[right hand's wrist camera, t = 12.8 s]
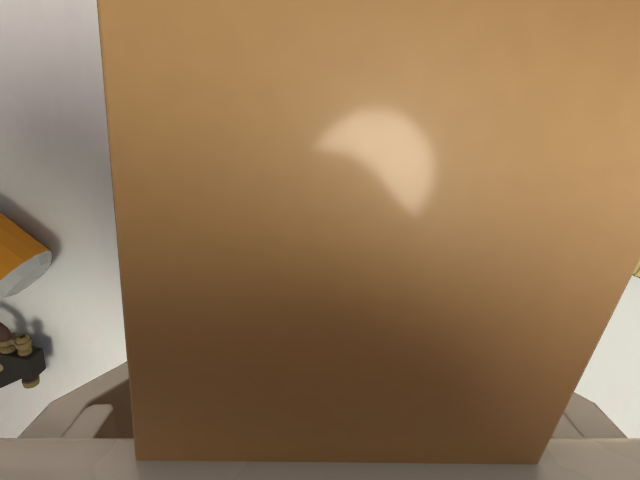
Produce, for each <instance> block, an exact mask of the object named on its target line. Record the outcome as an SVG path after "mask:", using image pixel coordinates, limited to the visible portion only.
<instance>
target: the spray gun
mask: <svg viewBox="0 0 640 480" xmlns="http://www.w3.org/2000/svg"><path fill="white" fill-rule="evenodd" d="M51 258H52V255H51V251H50V250H48V249H47V248H46V247H45V246H43V245H42V244H41V243H39V242H38V241H37V240H36V239H34V238H33V237H32V236H30V235H29V234H28V233H26V232H25V231H24V230H23V229H21V228H20V227H19V226H17V225H16V224H15V223H14V222H12V221H11V220H10V219H8V218H7V217H6V216H4V215H3V214H2V213H1V212H0V298H2V297H9V296H12V295H14V294H17V293H19V292H20V291H22V290H23V289H25V288H26V287H27V286H29V285H30V284H31V283H33V282H34V281H35V280H36V279H38V278H39V277H40V276H41V275H42V274H43V273H44V272H45V271H46V270H47V269H48V268H49V267H50V265H51ZM31 345H32V340H31V338H30V337H29V335H28V334H21V335H19V336H18V337H17V338H15V335H14V333H10V331H9V329H8V328H7V327H6V326H5V325H3V324H2V323H1V322H0V388H2V387H4V386H6V385H8V384H11V383H13V382H15V381H17V380H19V379H22V384H23V386H24V388H33V387H35V386H37V385H38V384H39V374H40V373H41V372H43V371H44V370H45V369H46V367H45V361H44V355H43V350H42V348H36V347H31Z"/></svg>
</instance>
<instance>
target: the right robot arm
mask: <svg viewBox="0 0 640 480" xmlns="http://www.w3.org/2000/svg"><path fill="white" fill-rule="evenodd" d="M0 480H640V438H627V437H626V436H625V435H624V434H623V433H622V431H621V430H620V429H619V428H618V427H617V426H616V425H615V424H614V423H613V422H612V421H611V420H610V419H609V418H608V417H607V416H606V415H605V414H604V413H603V411H602V410H601V409H600V408H599V407H598V406H597V405H596V404H595V403H593V402H591V401H589V400H588V399H586V398H584V397H582V396H580V395H578V394H576V393H574V392H573V394H572V396H571V398H570V400H569V402H568V404H567V406H566V408H565V410H564V413H563V415H562V417H561V419H560V421H559V423H558V425H557V427H556V429H555V431H554V433H553V435H552V437H551V439H550V441H549V443H548V445H547V447H546V449H545V451H544V453H543V455H542V457H541V459H540V461H539V463H538V464H536V465H531V464H439V463H348V462H256V461H165V460H137V459H136V458H135V446H134V434H133V422H132V411H131V399H130V387H129V375H128V363H127V362H125V363H123V364H121V365H120V366H118V367H116V368H114V369H112V370H110V371H108V372H107V373H105V374H103V375H101V376H99V377H97V378H96V379H94V380H92V381H90V382H88V383H86V384H84V385H83V386H81V387H79V388H77V389H75V390H73V391H71V392H70V393H68V394H66V395H64V396H62V397H60V398H59V399H57V400H55V401H53V402H51V403H50V404H49V405H48V406H47V407H46V408H45V409H44V410H43V411H42V412H41V413H40V414H39V416H38V417H37V418H36V419H35V420H34V421H33V422H32V423H31V424H30V425H29V426H28V427H27V428H26V429H25V430H24V431H23V432H22V434H21V435H20V436H19V437H18V438H0Z"/></svg>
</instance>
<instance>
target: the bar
mask: <svg viewBox="0 0 640 480" xmlns="http://www.w3.org/2000/svg"><path fill="white" fill-rule="evenodd" d="M97 8H98V20H99V32H100V44H101V56H102V68H103V79H104V91H105V103H106V115H107V127H108V139H109V150H110V162H111V174H112V186H113V198H114V210H115V221H116V233H117V245H118V257H119V269H120V280H121V292H122V304H123V316H124V328H125V340H126V351H127V363H128V375H129V387H130V399H131V411H132V422H133V434H134V446H135V458H136V459H137V460H165V461H256V462H348V463H439V464H531V465H536V464H538V463H539V461H540V459H541V457H542V455H543V453H544V451H545V449H546V447H547V445H548V443H549V441H550V439H551V437H552V435H553V433H554V431H555V429H556V427H557V425H558V423H559V421H560V419H561V417H562V415H563V413H564V410H565V408H566V406H567V404H568V402H569V400H570V398H571V396H572V394H573V392H574V390H575V388H576V386H577V384H578V382H579V380H580V378H581V376H582V374H583V372H584V370H585V368H586V366H587V364H588V362H589V360H590V358H591V356H592V354H593V352H594V350H595V348H596V346H597V344H598V342H599V340H600V338H601V336H602V334H603V332H604V330H605V328H606V326H607V324H608V322H609V320H610V318H611V316H612V314H613V312H614V310H615V308H616V306H617V304H618V302H619V300H620V298H621V296H622V294H623V292H624V290H625V288H626V286H627V284H628V282H629V280H630V278H631V276H632V274H633V272H634V270H635V268H636V266H637V264H638V262H639V260H640V0H97Z"/></svg>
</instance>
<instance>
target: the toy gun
mask: <svg viewBox="0 0 640 480" xmlns="http://www.w3.org/2000/svg"><path fill="white" fill-rule="evenodd" d="M632 275H633V276H636V277H638V278H640V260H639V262H638V264H637V266H636V268H635V270H634V272H633V274H632Z"/></svg>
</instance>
